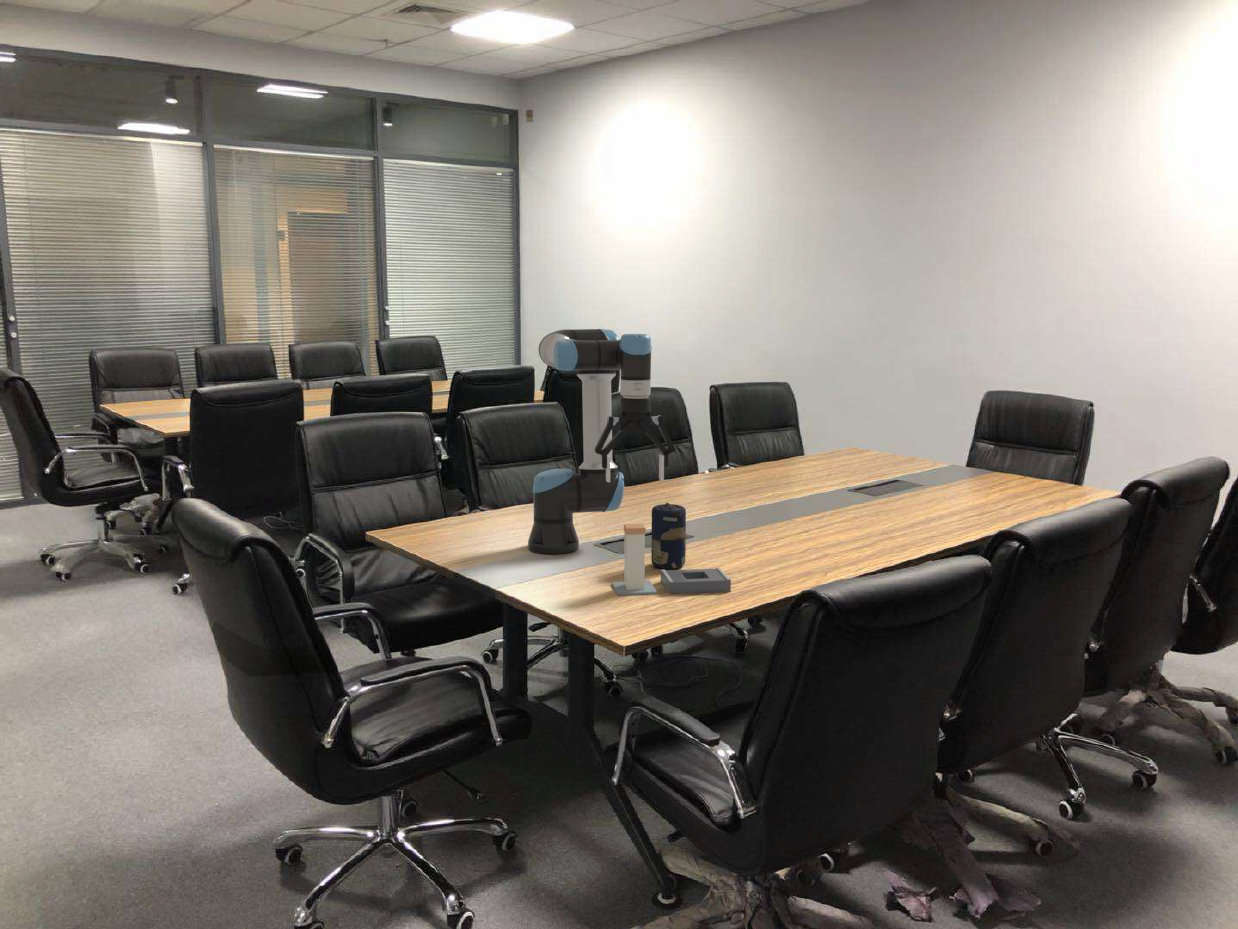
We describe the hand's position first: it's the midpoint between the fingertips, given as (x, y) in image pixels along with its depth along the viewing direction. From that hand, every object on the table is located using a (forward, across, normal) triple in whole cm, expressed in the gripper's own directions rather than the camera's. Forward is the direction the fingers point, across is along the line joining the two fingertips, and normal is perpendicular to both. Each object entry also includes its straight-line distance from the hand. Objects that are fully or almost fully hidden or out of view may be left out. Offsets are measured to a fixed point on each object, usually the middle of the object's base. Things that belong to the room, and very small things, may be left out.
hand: (634, 480), depth 244 cm
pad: (+28, 0, 0) cm, 28 cm away
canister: (+29, +13, +20) cm, 37 cm away
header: (+28, +16, 0) cm, 32 cm away
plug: (+28, 0, 0) cm, 28 cm away
